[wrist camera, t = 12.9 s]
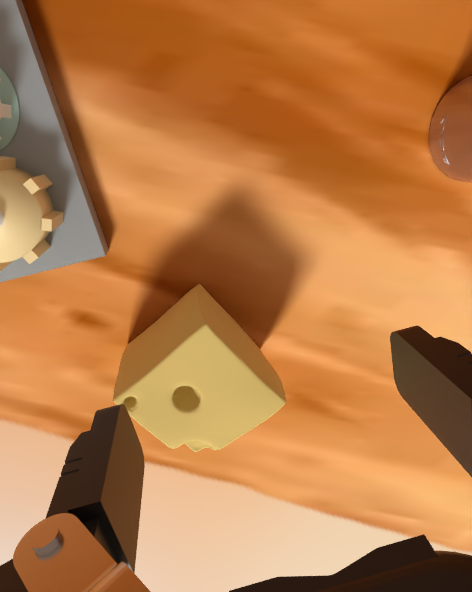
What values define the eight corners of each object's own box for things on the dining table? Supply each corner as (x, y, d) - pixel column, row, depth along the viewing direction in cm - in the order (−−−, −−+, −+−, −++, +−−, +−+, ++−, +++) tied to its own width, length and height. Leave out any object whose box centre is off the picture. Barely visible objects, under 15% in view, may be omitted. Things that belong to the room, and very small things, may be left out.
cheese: (192, 408, 46) (196, 478, 36) (118, 342, 42) (102, 400, 33) (267, 348, 44) (292, 404, 35) (199, 274, 40) (205, 315, 31)
